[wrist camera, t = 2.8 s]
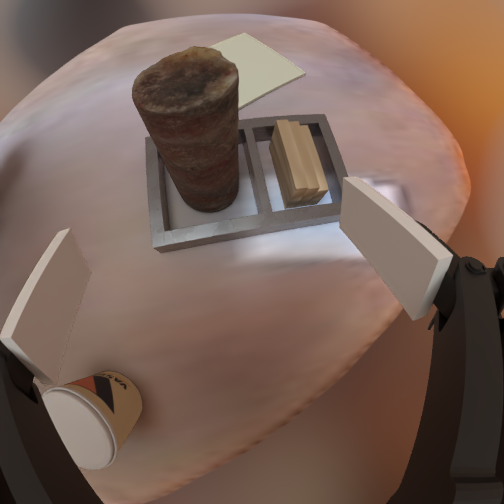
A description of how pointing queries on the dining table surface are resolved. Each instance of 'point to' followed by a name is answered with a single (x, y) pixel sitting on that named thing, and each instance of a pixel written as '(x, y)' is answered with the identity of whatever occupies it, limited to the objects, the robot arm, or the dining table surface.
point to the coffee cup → (94, 416)
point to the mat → (257, 67)
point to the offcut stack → (297, 165)
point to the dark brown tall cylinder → (194, 123)
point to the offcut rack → (266, 218)
